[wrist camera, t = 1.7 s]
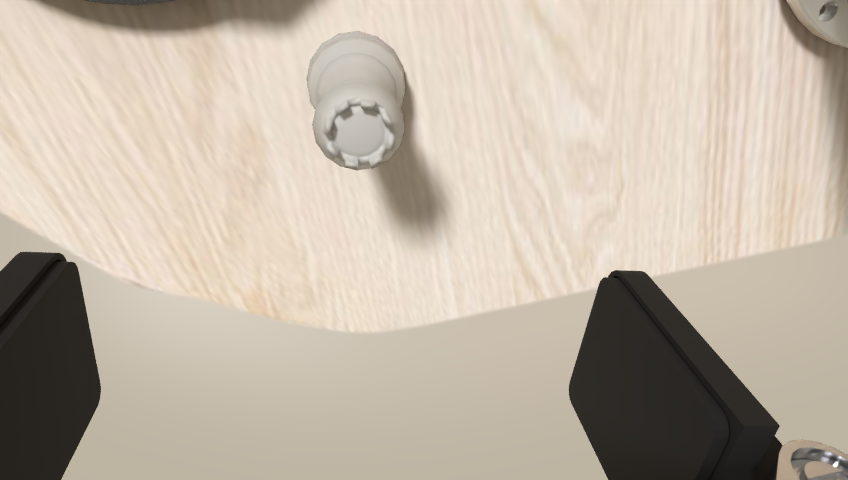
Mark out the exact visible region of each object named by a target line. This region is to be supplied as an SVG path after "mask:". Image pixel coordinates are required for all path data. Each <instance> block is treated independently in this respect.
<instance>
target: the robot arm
mask: <svg viewBox="0 0 848 480" xmlns="http://www.w3.org/2000/svg"><path fill="white" fill-rule="evenodd" d="M786 1H787V3H788V4H789V6H790V8H791V9H792V11H793V12H794V14H795V16H796V17H797V19H798V20H799V21H800V22H801V23H802V24H803V25H804V26H805V27H806V28H807V29H808V30H809V31H810V32H811V33H812V34H814V35H816V36H818V37H820V38H822V39H823V40H825V41H827V42H829V43H832V44H836V45H839V46H843V47H846V48H848V0H786ZM100 392H101V386H100V379H99V374H98V369H97V364H96V359H95V354H94V349H93V344H92V338H91V333H90V329H89V323H88V318H87V313H86V307H85V302H84V297H83V292H82V287H81V282H80V276H79V272H78V268H77V266H76V264H75V263H74V262H67V261H66V259H65V257H64V256H63V255H62V254H60V253H42V252H20V253H19V254H17V255H16V256H15V257H14V258H13V259H12V260H11V261H10V262H9V263H8V264H7V265H6V266H5V267H4V268H3V269H2V270H1V271H0V480H61V479H62V477H63V474H64V472H65V470H66V468H67V466H68V464H69V462H70V460H71V458H72V456H73V454H74V452H75V450H76V448H77V446H78V444H79V442H80V440H81V438H82V436H83V434H84V432H85V430H86V428H87V426H88V424H89V422H90V420H91V418H92V416H93V414H94V412H95V410H96V408H97V406H98V403H99V400H100ZM569 396H570V400H571V403H572V405H573V407H574V409H575V411H576V413H577V416H578V418H579V420H580V422H581V424H582V426H583V428H584V430H585V432H586V434H587V436H588V438H589V441H590V443H591V445H592V447H593V449H594V451H595V453H596V455H597V457H598V459H599V461H600V463H601V465H602V467H603V469H604V471H605V474H606V476H607V478H608V480H848V455H847V454H845V453H843V452H842V451H840V450H838V449H836V448H834V447H831V446H828V445H825V444H822V443H819V442H814V441H809V440H794V441H790V442H788V443H786V444H784V445H782V444H781V443H780V442H779V441H778V439H777V438H776V437H775V434H776V432H777V430H778V428H779V424H778V423H777V422H776V421H775V420H774V419H773V418H772V416H771V415H770V414H769V413H768V412H767V411H766V410H765V408H764V407H763V406H762V405H761V404H760V403H759V401H758V400H757V399H756V398H755V397H754V396H753V395H752V393H751V392H750V391H749V390H748V389H747V388H746V387H745V385H744V384H743V383H742V382H741V381H740V380H739V379H738V378H737V376H736V375H735V374H734V373H733V372H732V371H731V369H729V367H728V366H727V365H726V364H725V363H724V362H723V360H722V359H721V358H720V357H719V356H718V355H717V354H716V352H715V351H714V350H713V349H712V348H711V347H710V346H709V344H708V343H707V342H706V341H705V340H704V339H703V337H702V336H701V335H700V334H699V333H698V332H697V331H696V330H695V328H694V327H693V326H692V325H691V324H690V323H689V322H688V320H687V319H686V318H685V317H684V316H683V315H682V314H681V312H680V311H679V310H678V309H677V308H676V307H675V305H674V304H673V303H672V302H671V301H670V300H669V299H668V298H667V296H666V295H665V294H664V293H663V292H662V291H661V289H660V288H659V287H658V286H657V285H656V284H655V283H654V282H653V280H652V279H651V278H650V277H649V276H648V275H647V274H646V273H645V272H642V271H618V270H615V271H613V272H611V273H610V275H609V276H608V278H606V277H605V278H603V279H602V280H601V281H600V284H599V287H598V290H597V294H596V297H595V300H594V304H593V307H592V310H591V313H590V317H589V320H588V323H587V327H586V330H585V334H584V337H583V340H582V343H581V347H580V350H579V353H578V357H577V360H576V364H575V367H574V370H573V374H572V377H571V380H570V384H569Z"/></svg>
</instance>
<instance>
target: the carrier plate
mask: <svg viewBox="0 0 848 480" xmlns="http://www.w3.org/2000/svg"><path fill="white" fill-rule="evenodd" d="M87 1H93V2H99V3H105V4H134V5H140V4H150V3H160V2H169V1H174V0H87Z"/></svg>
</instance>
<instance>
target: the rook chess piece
mask: <svg viewBox="0 0 848 480" xmlns="http://www.w3.org/2000/svg"><path fill="white" fill-rule="evenodd" d="M307 86H308V91H309V96H310V101H311V104H312V106H313V107H314V109H315V115H314V120H313V124H312V125H313V130H314V135H315V140H316V143H317V144H318V146H319V147H320V149H321V150H322V152H323V153H324V155H325V156H326V157H327V158H329V159H330V160H332V161H333V162H335V163H336V164H338V165H339V166H342V167H346V168H350V169H354V170H362V169H369V168H375V167H377V166H378V165H380V164H382V163H384V162H386V161H387V160H389V159H390V158H391V157H392V155H393V154H394V153H395V152H396V150H397V149H398V148H399V147H400V144H401V141H402V137H403V134H404V130H405V129H404V120H403V113H402V111H401V109H400V108H401V104H402V101H403V97H404V94H405V80H404V71H403V66H402V64H401V62H400V60H399V59H398V57H397V55H396V53H395V51H394V49H392V48H391V47H390V46H389V45H387V44H386V43H385V42H384V41H382V40H381V39H380V38H379V37H377V36H373V35H370V34H366V33H363V32H360V31H356V32H348V33H340V34H337V35H336V36H334V37H332V38H331V39H329V40H327V41H326V42H324V43H322V44H321V46H320V47H319V49H318V50H317V51H316V53H315V54H314V56H313V57H312V59H311V60H310V65H309V70H308V75H307Z"/></svg>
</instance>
